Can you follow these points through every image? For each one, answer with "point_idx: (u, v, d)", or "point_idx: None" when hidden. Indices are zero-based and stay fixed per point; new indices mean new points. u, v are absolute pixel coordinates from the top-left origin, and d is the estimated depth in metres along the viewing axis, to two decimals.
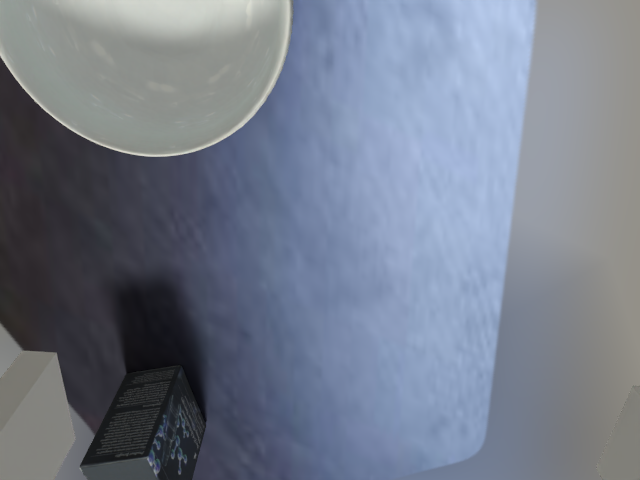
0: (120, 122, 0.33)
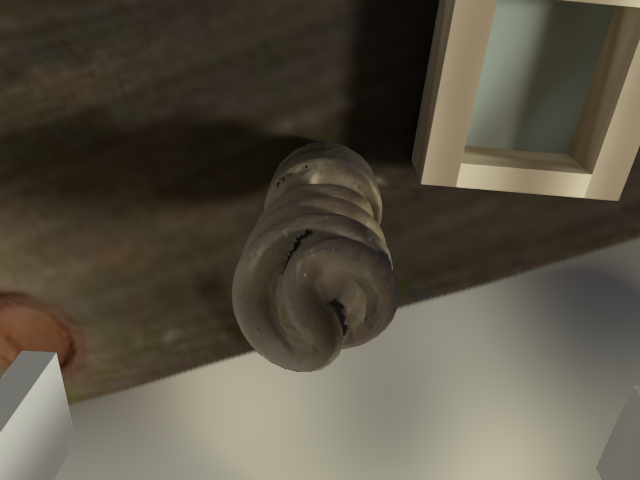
0: None
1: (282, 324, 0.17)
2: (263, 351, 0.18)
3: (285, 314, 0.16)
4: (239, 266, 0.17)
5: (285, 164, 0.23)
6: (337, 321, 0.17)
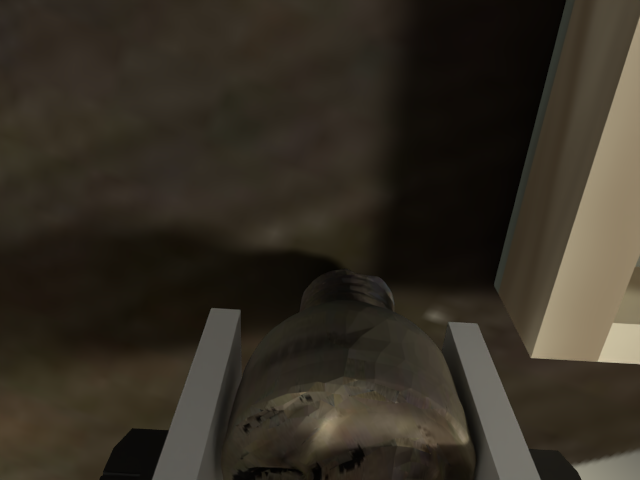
0: None
1: None
2: None
3: None
4: None
5: (264, 372, 0.11)
6: None
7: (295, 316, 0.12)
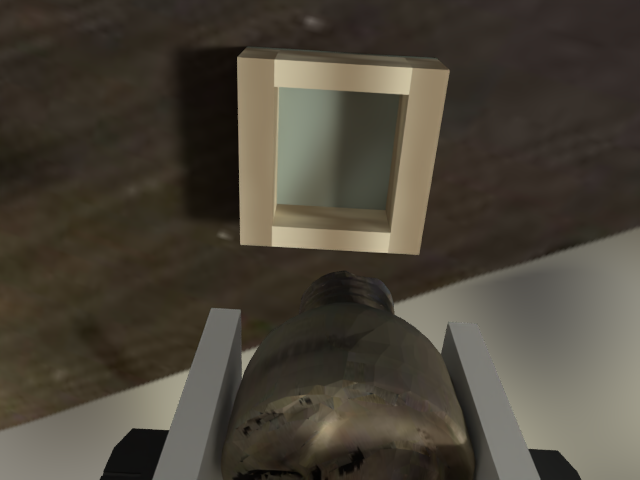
0: None
1: None
2: None
3: None
4: None
5: (264, 374, 0.11)
6: None
7: (295, 319, 0.12)
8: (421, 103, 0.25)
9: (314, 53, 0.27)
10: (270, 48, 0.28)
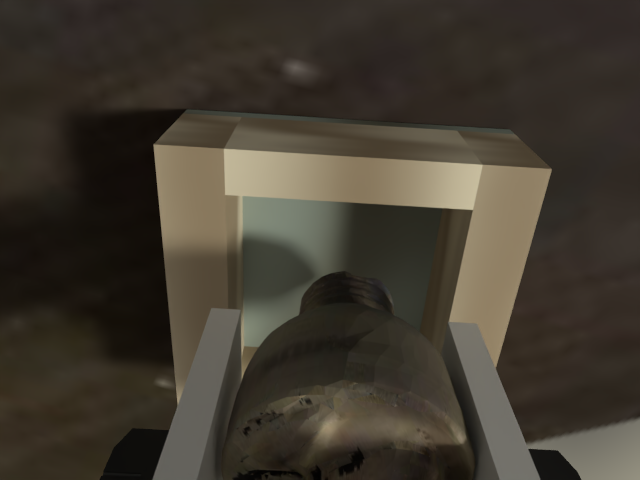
0: None
1: None
2: None
3: None
4: None
5: (264, 375, 0.11)
6: None
7: (295, 319, 0.12)
8: (495, 223, 0.14)
9: (301, 125, 0.15)
10: (226, 113, 0.16)
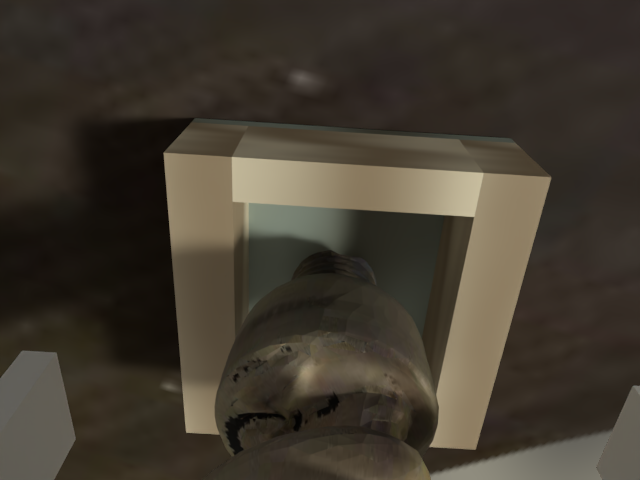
0: None
1: None
2: None
3: None
4: None
5: (251, 331, 0.12)
6: None
7: (281, 286, 0.13)
8: (496, 230, 0.14)
9: (306, 134, 0.16)
10: (233, 122, 0.16)
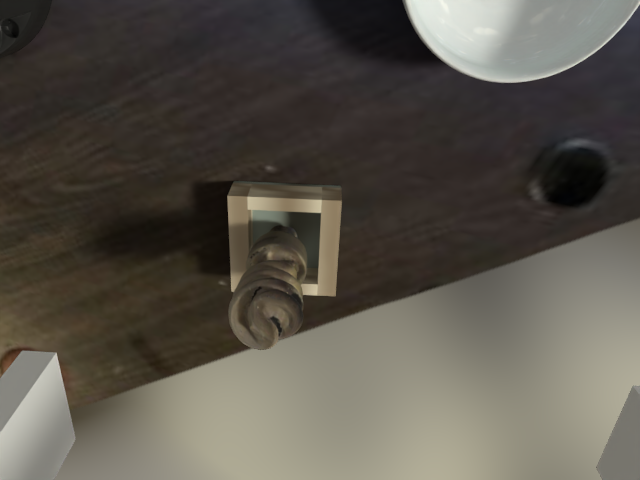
0: None
1: (250, 328, 0.38)
2: (243, 341, 0.39)
3: (251, 323, 0.38)
4: (230, 303, 0.39)
5: (255, 245, 0.45)
6: (274, 326, 0.38)
7: None
8: (328, 217, 0.47)
9: (270, 186, 0.48)
10: (246, 182, 0.49)
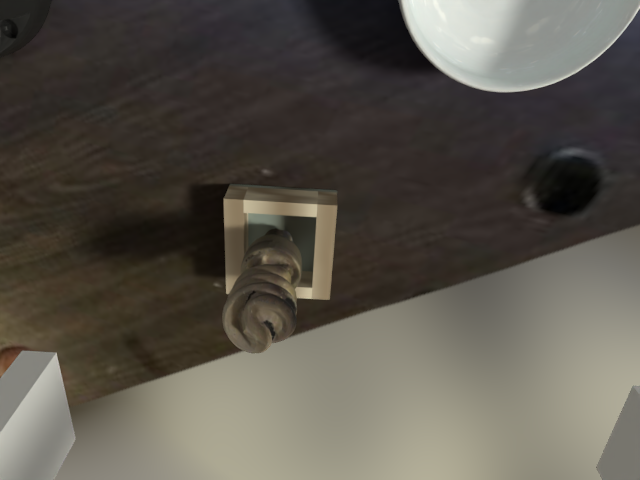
0: (606, 10, 0.38)
1: (243, 332, 0.38)
2: (237, 344, 0.39)
3: (244, 327, 0.38)
4: (224, 307, 0.39)
5: (250, 249, 0.45)
6: (267, 330, 0.38)
7: (258, 238, 0.46)
8: (323, 221, 0.47)
9: (267, 190, 0.48)
10: (243, 185, 0.49)
